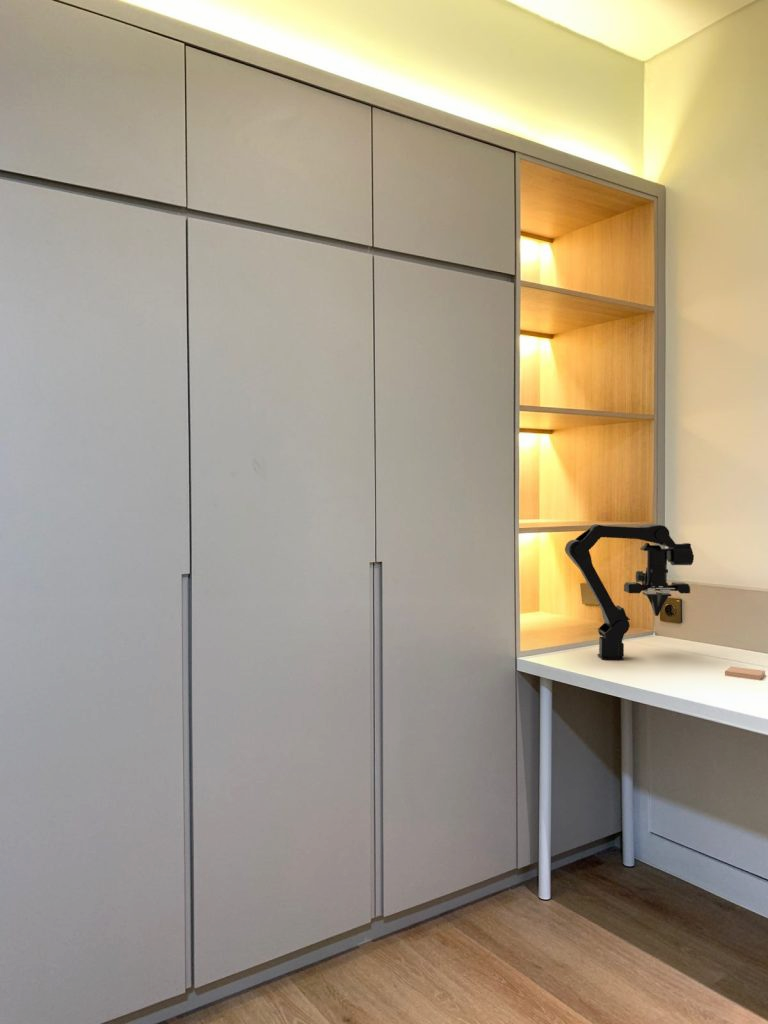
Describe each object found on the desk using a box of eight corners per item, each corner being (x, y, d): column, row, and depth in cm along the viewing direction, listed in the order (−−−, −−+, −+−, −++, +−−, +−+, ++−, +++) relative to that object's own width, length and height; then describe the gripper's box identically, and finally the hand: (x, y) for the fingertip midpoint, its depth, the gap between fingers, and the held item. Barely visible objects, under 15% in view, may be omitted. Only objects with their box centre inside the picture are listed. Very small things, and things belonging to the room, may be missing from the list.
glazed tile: (724, 670, 217) (760, 675, 211) (730, 666, 222) (765, 670, 217) (724, 676, 217) (759, 681, 211) (730, 672, 222) (765, 676, 217)
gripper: (677, 562, 246) (677, 611, 247) (619, 562, 246) (618, 611, 247) (691, 566, 235) (690, 617, 235) (629, 566, 235) (629, 617, 236)
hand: (656, 615), depth 239 cm, fingers closed
